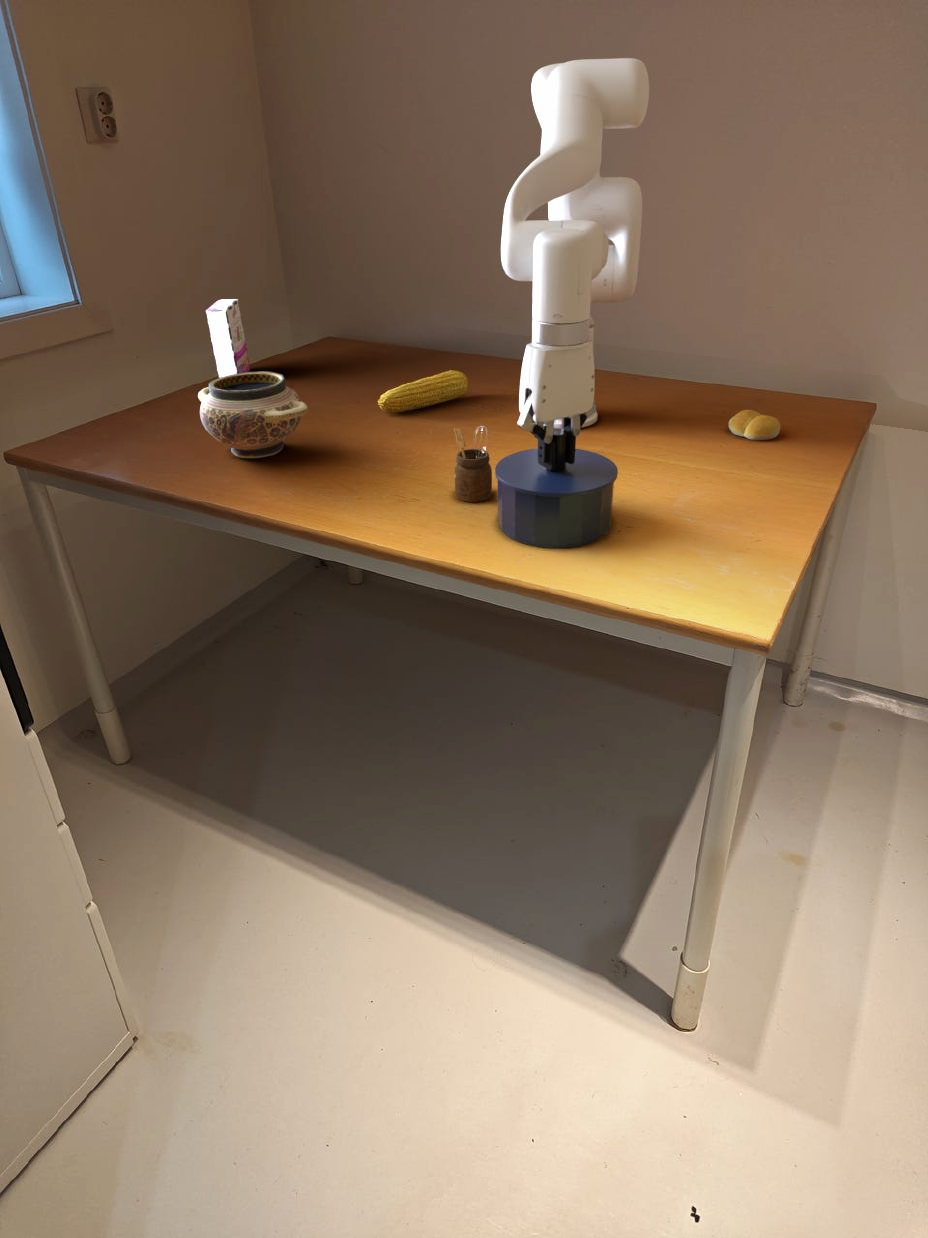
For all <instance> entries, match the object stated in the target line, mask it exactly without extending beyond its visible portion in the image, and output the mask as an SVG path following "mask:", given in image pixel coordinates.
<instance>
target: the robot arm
mask: <svg viewBox="0 0 928 1238" xmlns="http://www.w3.org/2000/svg"><path fill="white" fill-rule="evenodd" d="M530 86H531V88H530V89H531V90H530V91H531V92H530V93H531V101H532V106H533V108H534V113H535V115H536V117H537V120H538V123H539V125H540V128H541V142H540V155H539V156H538V157H536V158H535V159H534V160H533V161H532V162H531V163H530V164H529V165H528V166H527V167H526V168H525V169H524V170H523V172H522V173H520V175H519V176H518V177H517V179H516V180H515V182H514V184H513V185H512V187H511V189H510V190H509V193H508V195H507V197H506V200H505V204H504V210H503V217H502V218H503V219H502V229H501V239H500V241H501V242H500V260H501V266H502V268H503V271H504V273H505V275H506V276H507V277H509V278H510V279H512V280H513V281H517V282H532V304H531V305H532V307H531V309H532V311H531V312H532V313H531V315H532V316H531V317H532V318H531V342H530V343H527V344H526V346H525V350H524V355H523V358H522V359H523V360H522V365H521V372H520V380H519V395H518V410H519V414H520V415H519V418H518V421H517V423H516V424H517V427H518V428H520V429H523V430H524V431H527V432H530V433H531V434H532V435H533V437H534V438H535V439H537V448H538V456H537V457H538V463H539V465H541V466H543V467H545V468H547V469H549V470H551V469H554V468H555V448H556V444H555V442H553V441H552V438H553V429H564V430H566V431H567V451H566V462H567V463H569V464H573V463H574V462H575V449H576V445H577V444H576V443H577V437H578V436H580V434H581V428H587V427H589V426H592V425H594V424H595V423H596V422H597V421H598V412H597V405H596V403H595V387H596V386H595V384H596V379H595V378H596V376H595V375H596V374H595V372H596V371H595V358H594V341H595V327H594V326H595V320H594V318H593V317H591V305H592V303H621V302H626V301H628V300H629V299H631V298H632V297H633V295H634V294H635V291H636V287H637V282H638V273H639V264H640V263H639V261H640V250H641V249H640V248H641V236H642V235H641V234H642V222H643V193H642V189H641V186H640V184H639V183H638V182H637V180H635V179H633V178H631V177H626V176H601V170H600V169H601V166H602V165H601V164H602V150H603V149H602V148H603V130H604V129H605V130H606V129H609V130H611V129H612V130H613V129H636V128H639V127H640V126H641V125H642V123H643V121H644V119H645V118H646V115H647V111H648V108H649V99H650V78H649V73H648V70H647V67H646V65H645V63H644V62H643V61H642V60H641V59H638V58H634V57H633V58H632V57H622V58H621V57H618V58H590V59H589V58H587V59H574V60H569V61H566V62H559V63H553V64H548V65H545V66H543V67H541V68H539V69H537V70H536V71H535V72H534V74H533V76H532V80H531V85H530ZM545 204H547V206H548V207H547V210H548V211H547V212H548V213H547V214H548V219H542V220H541V219H540V220H539V219H538V220H537V219H536V220H527V218H528V217H529V216H530V215H531V214H532V213H533V212H534V211H536V210H537V209H538V208H540V207H543V205H545ZM609 240H610V241H612V243H613V244H610V243H609ZM533 421H534V422H533Z"/></svg>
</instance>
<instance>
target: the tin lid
mask: <svg viewBox="0 0 928 1238" xmlns="http://www.w3.org/2000/svg"><path fill="white" fill-rule="evenodd" d="M552 441H553V442H555V444H556V448H555V468H554V469H551V470H549V469H547V468H545V467H543V466H541V465H539V463H538V457H537V456H538V447H537V448H536V447H535V448H530V449H525V450H519V451H517V452H514V453H511V454H509V455H506V456H504V457H503V458H501V459H500V460H499V461H498V462H497V463H496V465H495V468H494V475H495V478H496V480H497V479H498V481H499V482H500V483H501V484H503V485H504V486H506V487H508V488H510V489H513V490H515V491H518V492H522V493H526V494H530V495H537V496H546V497H570V496H579V495H585V494H590V493H594V492H597V491H600V490H602V489H605V488H607V487H608V486H610V485H611V484H612V483H614V484H615V481H616V480H617V479H618V476H619V475H618V473H619V469H618V467H617V465H616V463H615V462H614V461H613V460H611V459H610V458H609V457H607V456H604V455H602V454H600V453H597V452H594V451H590V450H587V449H580V448H575V462H574V463H573V464H569V463H567V462H566V451H567V431H566V430H564V429H556V428H553V438H552Z"/></svg>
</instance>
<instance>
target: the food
mask: <svg viewBox="0 0 928 1238" xmlns="http://www.w3.org/2000/svg"><path fill="white" fill-rule="evenodd" d="M468 381H469V380H468V377H467V376H466V375H465V373H463V372H461V371H459V370H452V369H450V370H448V371H443V372H442V373H441V372H440V373H437V374H434V375H431V376H427V377H424V378H421V379H418V380H417V379H416V380H415V381H412V382H407V383H406V384H405V383H403V384H401V385H399V386H396V387H393V388H391V389H389V390H387V391H386V392H385V393H383V394H382V395H380V397H379V399H378V400H377V406H378V407H379V408H380V410H382V411H384V412H385V413H387V412H388V413H402V412H407V411H413V410H418V409H423V408H428V407H431V406H434V405H436V404H441V403H445V402H448V401H451V400H455V399H458V398H459V397H461V396H464V395H465V394H466V393H467V392H468V391H467V390H468V387H469V382H468Z"/></svg>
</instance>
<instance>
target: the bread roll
mask: <svg viewBox="0 0 928 1238" xmlns="http://www.w3.org/2000/svg"><path fill="white" fill-rule="evenodd" d="M728 428H729V431H730V432H731V433H732V434H733V435H736V436H738V437H742V438H743V437H744V438H746V439H748V440H751V441H768V440H772V439H775V438H777V437H778V436H779V434H780V430H781V422H780V421H779V419H777V418H776V417H774V416H771V415H768V414H761V413H759V412H758V411H756V410H753V409H744V410H741V411H739V412H737V413H736V414H735V415H734V416H732V417H731V418H730V419H729V420H728Z"/></svg>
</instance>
